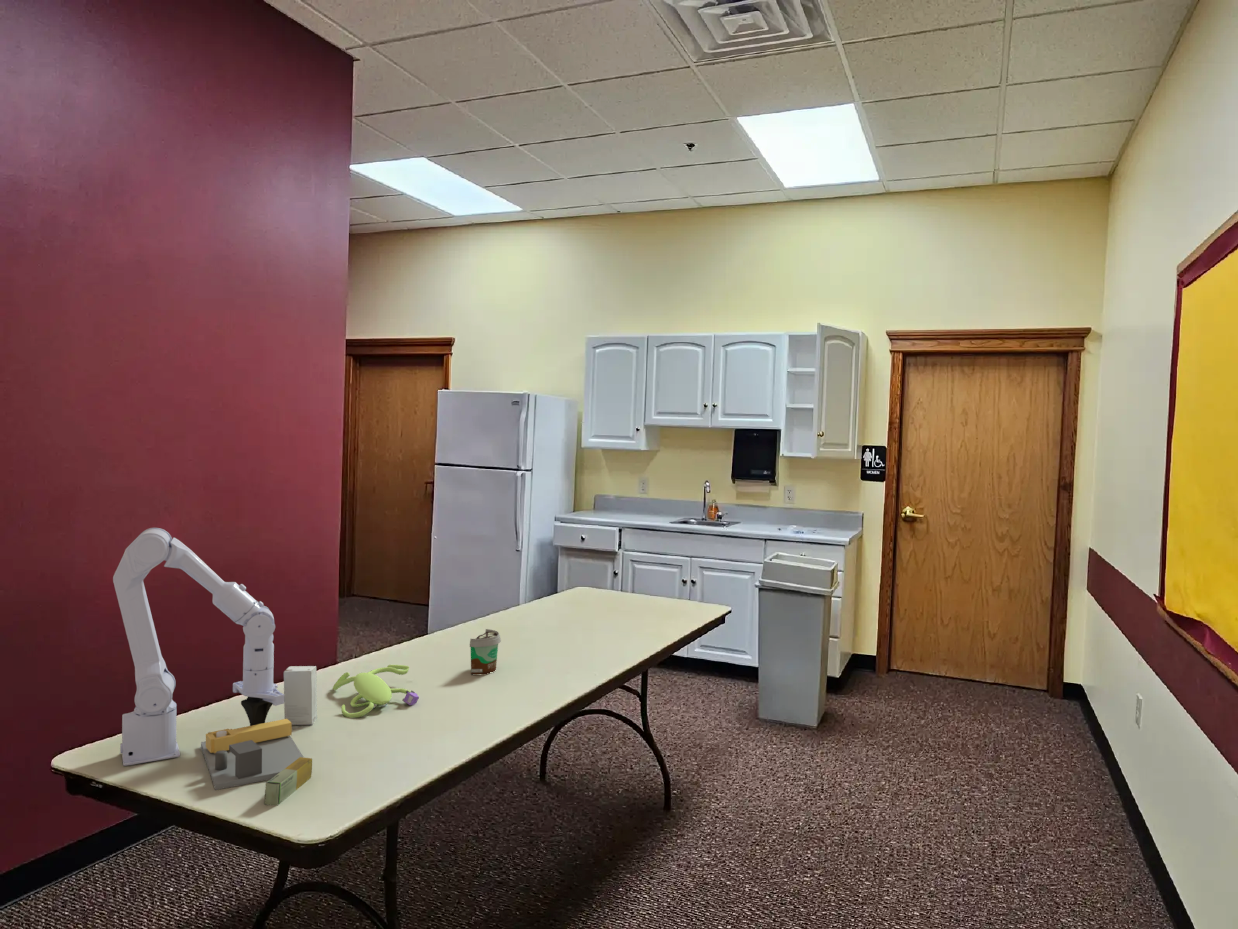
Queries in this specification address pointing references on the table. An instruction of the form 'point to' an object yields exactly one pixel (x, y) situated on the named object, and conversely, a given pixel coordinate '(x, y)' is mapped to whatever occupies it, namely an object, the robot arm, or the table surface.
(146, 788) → the table surface
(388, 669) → the figurine
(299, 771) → the medication box
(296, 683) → the skincare box
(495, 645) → the food container
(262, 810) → the table surface
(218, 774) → the base
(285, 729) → the link
